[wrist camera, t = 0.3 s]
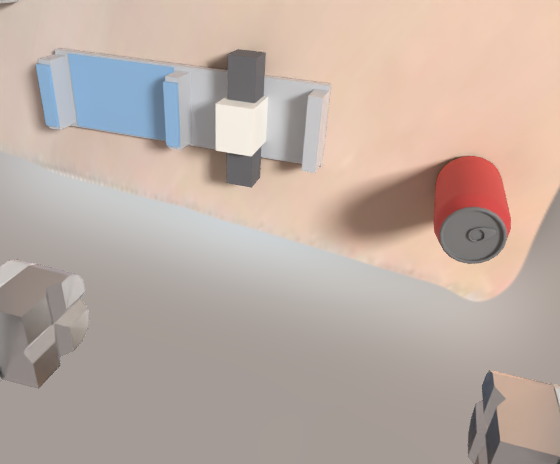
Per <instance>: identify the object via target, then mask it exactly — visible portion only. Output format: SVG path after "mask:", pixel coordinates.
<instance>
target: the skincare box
mask: <svg viewBox="0 0 560 464" xmlns="http://www.w3.org/2000/svg"><path fill="white" fill-rule="evenodd" d="M17 1H18V0H0V3H13V2H17Z"/></svg>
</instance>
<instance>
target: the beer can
mask: <svg viewBox="0 0 560 464" xmlns="http://www.w3.org/2000/svg"><path fill="white" fill-rule="evenodd" d="M510 229H511V217H510V213H509V208H508V204H507V200H506V195H505V191H504V187H503V182H502V178H501V176H500V173H499V171H498V169H497V168H496V167H495V166H494V165H493V164H492V163H491V162H489V161H487V160H486V159H484V158H480V157H475V156H466V157H460V158H457V159H455V160H452V161H451V162H449V163H448V164H447V165H445V166H444V167H443V169H442V170H441V171H440V173H439V174H438V177H437V180H436V185H435V205H434V232H435V234H436V236H437V238H438V241H439V243H440V244H441V246H442V248H443V250H444V251H445V252H446V253H447V254H448V255H449V256H450V257H451V258H453V259H455V260H457V261H459V262H464V263H468V264H472V263H482V262H485V261H489V260H490V259H492V258H494V257H495V256H497V255H498V254H499V253H500V251H501V250H502V249H503V248H504V246H505V243H506V240H507V237H508V235H509V232H510Z"/></svg>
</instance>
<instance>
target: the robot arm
mask: <svg viewBox="0 0 560 464" xmlns="http://www.w3.org/2000/svg"><path fill="white" fill-rule="evenodd" d="M84 293H85V287H84V282H83V278H82V277H80V276H79V275H77V274H74V273H70V272H66V271H62V270H59V269H55V268H51V267H47V266H43V265H39V264H34V263H30V262H26V261H22V260H18V259H16V260H9V261H8V262H6V263H5V264H3V265H2V266H0V382H1V381H2V380H1V379H3V380H7V381H11V382H15V383H19V384H23V385H27V386H30V387H34V388H38V389H39V388H40V387H41V386H42V385H43V383H45V381H46V380H47V379H48V378H49V377H50V376H51V375H52V374H53V373H54V372H55V371H56V370H57V369H58V368H59V367H60V357H61V356H63V355H66V354H68V353H70V352H73V351H74V350H75V349H76V348H77V347H78V346H79V344H81V342H82V341H83V339H84V337H85V334H86V332H87V330H88V326H89V312H88V308H87V307H86V305H85V304H84V302H83V301H82V300H81V297H82V295H83V294H84ZM482 397H483V400H482V401H480V402H478V403H476V404H475V407H474V410H473V413H472V417H471V421H470V427H469V432H468V457H469V459H470V460H471V461H472V463H473V464H560V385H556V384H548V383H544V382H539V381H535V380H531V379H527V378H522V377H518V376H513V375H509V374H504V373H500V372H496V371H491V370H489V371H488V373H487V374H486V376H485V379H484V381H483V384H482Z"/></svg>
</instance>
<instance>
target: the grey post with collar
mask: <svg viewBox="0 0 560 464" xmlns="http://www.w3.org/2000/svg"><path fill="white" fill-rule="evenodd" d="M265 55H266V53H264V52H256V51H248V50H239V49H238V50H236V51H234V52H232V53H230V54H228V85H227V96H226V97H225V98H223V99H222V100H220V101H219V102H217V103H216V151H221V152H227V183H230V184H235V185H241V186H247V187H252V186H253V185H254V184H255V183H256V182H257V180H258V179H259V178H260V165H261V146H262V145H263V144H264V143H265V142H266V128H267V108H268V97H266V96H264V77H265Z"/></svg>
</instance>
